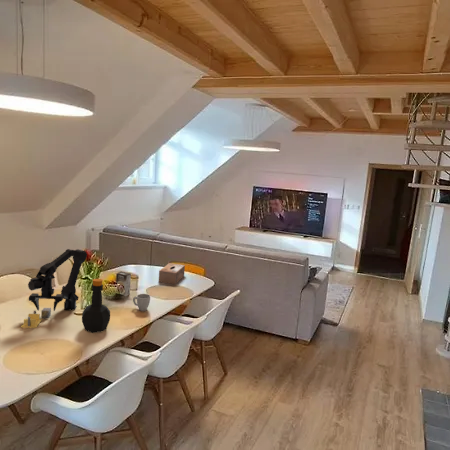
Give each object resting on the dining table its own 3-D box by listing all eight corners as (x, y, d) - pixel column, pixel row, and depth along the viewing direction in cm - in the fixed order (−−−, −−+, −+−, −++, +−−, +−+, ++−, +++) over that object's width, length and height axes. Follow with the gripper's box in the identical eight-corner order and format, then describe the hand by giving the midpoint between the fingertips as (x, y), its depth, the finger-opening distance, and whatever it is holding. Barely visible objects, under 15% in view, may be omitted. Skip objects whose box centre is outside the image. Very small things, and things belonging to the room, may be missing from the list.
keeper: (42, 320, 230) (42, 310, 229) (36, 327, 219) (36, 318, 218) (27, 319, 228) (27, 310, 228) (21, 327, 218) (21, 317, 217)
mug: (151, 308, 262) (152, 295, 260) (145, 312, 254) (146, 299, 252) (135, 305, 265) (136, 292, 263) (129, 309, 256) (130, 296, 255)
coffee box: (114, 294, 282) (115, 273, 280) (119, 291, 288) (120, 271, 286) (125, 296, 280) (126, 275, 277) (130, 293, 286) (131, 273, 283)
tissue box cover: (175, 284, 316) (175, 272, 315) (158, 282, 319) (159, 270, 317) (184, 276, 341) (184, 265, 340) (168, 273, 344) (169, 263, 342)
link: (50, 315, 237) (51, 307, 236) (48, 318, 232) (48, 311, 232) (43, 315, 237) (43, 307, 236) (41, 318, 232) (41, 310, 231)
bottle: (87, 321, 233) (88, 274, 228) (114, 324, 233) (116, 277, 228) (76, 333, 217) (77, 282, 213) (105, 335, 217) (107, 285, 212)
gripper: (66, 282, 241) (65, 305, 243) (34, 281, 238) (34, 305, 240) (61, 288, 230) (61, 312, 232) (28, 287, 227) (28, 312, 229)
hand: (46, 310), depth 234 cm, fingers open, 9 cm apart
